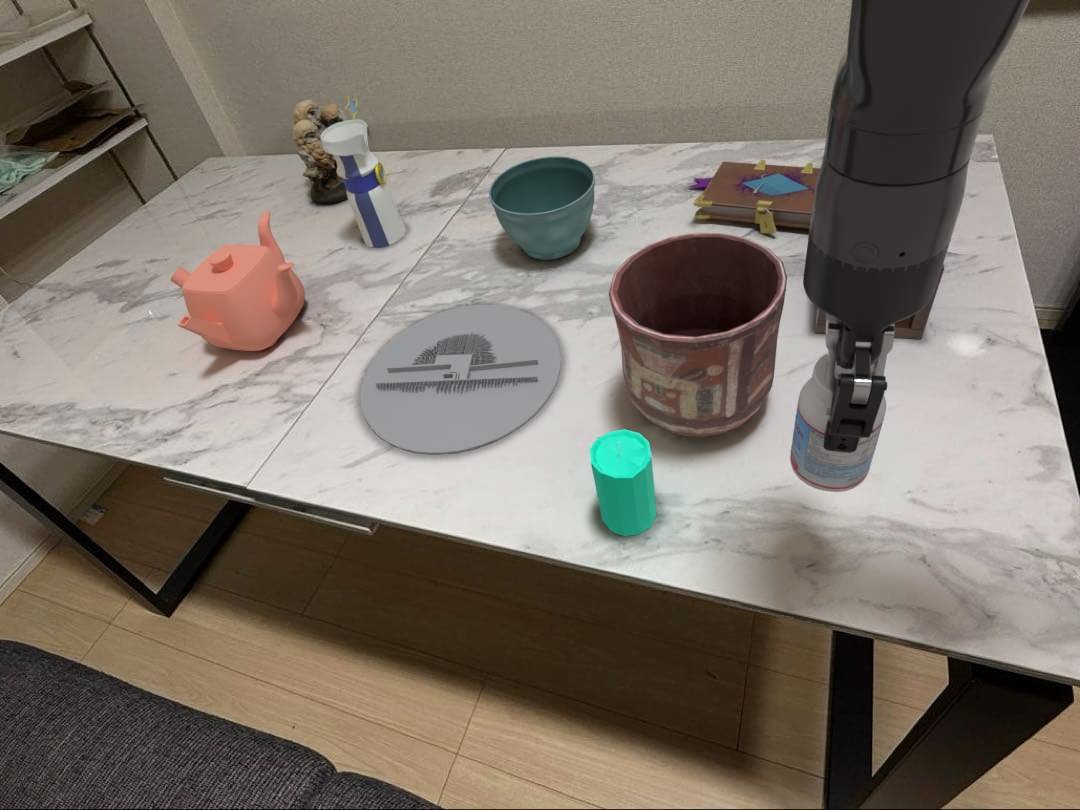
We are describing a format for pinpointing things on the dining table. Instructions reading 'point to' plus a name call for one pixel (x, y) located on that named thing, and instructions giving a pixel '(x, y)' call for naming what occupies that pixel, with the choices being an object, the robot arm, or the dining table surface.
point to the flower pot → (545, 204)
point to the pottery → (699, 330)
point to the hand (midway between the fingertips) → (839, 413)
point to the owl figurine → (318, 150)
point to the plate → (460, 379)
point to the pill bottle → (808, 439)
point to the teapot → (242, 294)
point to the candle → (624, 481)
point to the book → (759, 194)
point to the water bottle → (363, 180)
